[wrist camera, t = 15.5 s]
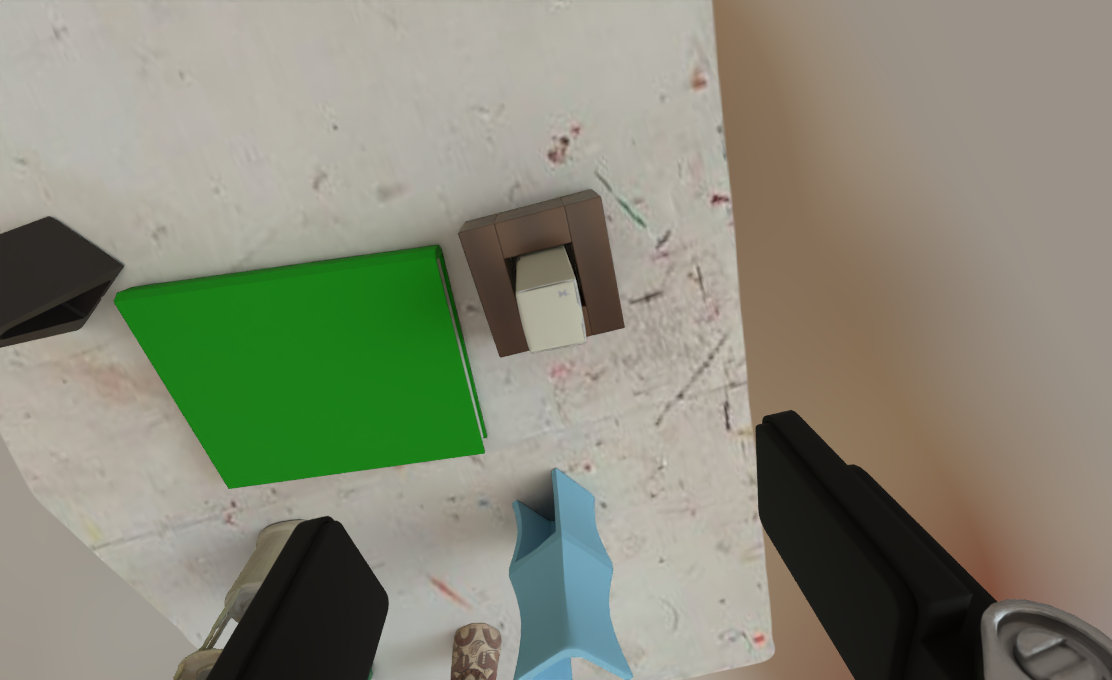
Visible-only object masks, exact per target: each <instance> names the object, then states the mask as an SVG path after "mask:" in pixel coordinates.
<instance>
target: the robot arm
mask: <svg viewBox="0 0 1112 680" xmlns="http://www.w3.org/2000/svg"><path fill="white" fill-rule="evenodd" d="M756 456H757V483H758V510H759V516H760V520H761V523H762V525H763V527H764V529H765V531H766V533H767V534H768V536H769V537H770V539H771V541H772V543H773V544H774V546H775V547H776V549H777V551H778V553H779V554H780V556H781V558H782V559H783V561H784V563H785V564H786V566H787V567H788V569H789V571H790V572H791V574H792V576H793V577H794V579H795V581H796V582H797V584H798V585H799V587H800V589H801V591H802V592H803V594H804V596H805V597H806V599H807V601H808V602H809V604H810V606H811V607H812V609H813V610H814V612H815V614H816V616H817V617H818V619H819V621H820V622H821V624H822V625H823V627H824V629H825V630H826V632H827V634H828V635H829V637H830V639H831V640H832V642H833V644H834V645H835V647H836V649H837V650H838V652H839V654H840V655H841V657H842V659H843V660H844V662H845V664H846V665H847V667H848V669H849V670H850V672H851V674H852V675H853V677H854V679H855V680H1112V640H1111V639H1110V638H1109V637H1108V636H1106V635H1105V634H1104V633H1102V632H1101V631H1100V630H1098V629H1097V628H1095V627H1093V626H1091V625H1090V624H1088V623H1087V622H1085V621H1083V620H1081V619H1080V618H1078V617H1076V616H1075V615H1072V614H1070V613H1067V612H1065V611H1063V610H1060V609H1058V608H1055V607H1053V606H1050V605H1047V604H1043V603H1038V602H1034V601H1030V600H1016V599H1006V600H1003V601H1000V602H997V601H996V600H995V599H994V598H993V597H992V596H991V595H990V594H989V593H988V592H987V591H986V590H985V589H984V588H983V587H982V586H981V585H980V584H979V583H978V582H977V581H976V580H975V579H974V578H973V577H972V576H971V575H970V574H969V573H968V572H967V571H966V570H965V569H964V568H963V567H962V566H961V565H960V564H959V563H958V562H957V561H956V560H955V559H954V558H953V557H952V556H951V555H950V554H949V553H948V552H946V550H945V549H944V548H943V547H942V546H941V545H940V544H939V543H938V542H936V540H935V539H934V538H933V537H931V535H930V534H928V533H927V531H925V529H923V528H922V527H921V526H920V525H919V524H918V523H917V522H916V521H915V520H914V519H913V518H912V517H911V516H910V515H909V514H908V513H907V512H906V511H905V510H904V509H903V508H902V507H901V506H900V505H899V504H898V503H897V502H896V501H895V500H894V499H893V498H892V497H891V496H890V495H889V494H888V493H887V492H886V491H885V490H884V489H883V488H882V487H881V486H880V485H879V484H878V483H877V482H876V481H875V480H874V479H873V478H872V477H871V476H870V475H869V474H868V473H867V472H865V471H864V470H863V469H862V468H861V467H859V466H856V465H847V464H846V463H845V462H844V461H843V460H842V459H841V458H840V457H839V456H838V455H837V454H836V453H835V452H834V451H833V450H832V449H831V448H830V447H829V446H828V445H827V444H826V442H824V440H823V439H821V437H820V436H819V435H818V434H817V433H816V432H815V431H814V430H813V429H812V428H811V427H810V426H809V425H808V424H807V423H806V422H805V421H804V420H803V419H802V418H801V417H800V416H799V415H798V414H797V413H796V412H795V411H792V410H789V411H785V412H780V413H776V414H772V415H767V416H764V418H763V420H762V424H759V425H757V426H756ZM388 606H389V601H388V595H387V593H386V591H385V590H384V588H383V587H382V585H381V584H380V582H379V581H378V579H377V578H376V576H375V575H374V573H373V571H372V570H371V568H370V567H369V565H368V564H367V562H366V561H365V559H364V558H363V556H362V555H361V553H360V552H359V550H358V549H357V547H356V545H355V544H354V542H353V541H352V539H351V538H350V536H349V535H348V533H347V532H346V530H345V529H344V527H343V526H342V524H341V523H340V522H338V521H334V520H333V519H332V518H331V517H329V516H325V517H320V518H316V519H311V520H307V521H303V522H301V523H299V524H298V525H297V526H296V527H295V529H294V530H293V532H292V534H291V535H290V537H289V539H288V540H287V542H286V544H285V545H284V547H283V549H282V551H281V552H280V554H279V556H278V557H277V559H276V561H275V562H274V564H273V566H272V568H271V569H270V571H269V573H268V574H267V576H266V578H265V579H264V581H263V583H262V585H261V586H260V588H259V590H258V591H257V593H256V595H255V596H254V598H253V600H252V601H251V603H250V605H249V607H248V608H247V610H246V612H245V613H244V615H243V617H242V618H241V620H240V622H239V624H238V625H237V627H236V629H235V630H234V632H233V634H232V635H231V637H230V639H229V641H228V642H227V644H226V646H225V647H224V649H223V651H222V652H221V654H220V656H219V658H218V659H217V661H216V663H215V664H214V666H213V668H212V669H211V671H210V673H209V674H208V676H207V678H206V680H368V678H369V674H370V671H371V667H372V664H373V660H374V657H375V654H376V650H377V647H378V643H379V640H380V636H381V633H382V629H383V626H384V623H385V619H386V616H387V612H388Z"/></svg>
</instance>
